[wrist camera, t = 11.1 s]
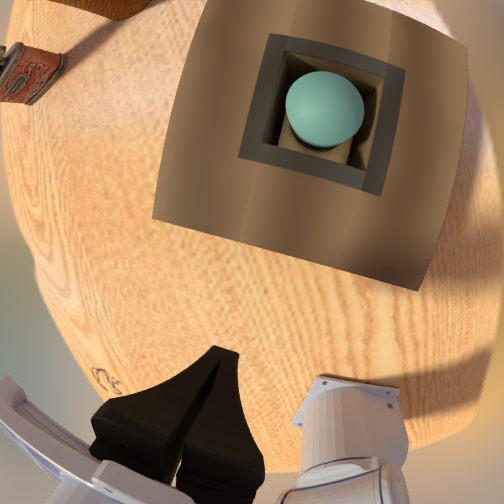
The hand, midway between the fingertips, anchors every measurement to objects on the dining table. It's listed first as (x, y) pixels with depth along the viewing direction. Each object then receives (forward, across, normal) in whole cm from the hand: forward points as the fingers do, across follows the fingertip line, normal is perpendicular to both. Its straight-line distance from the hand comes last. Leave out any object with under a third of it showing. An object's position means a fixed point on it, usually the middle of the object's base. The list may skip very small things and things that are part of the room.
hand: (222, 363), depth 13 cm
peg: (+8, -2, -13) cm, 16 cm away
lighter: (+9, +28, -16) cm, 34 cm away
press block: (+9, -2, -13) cm, 16 cm away
